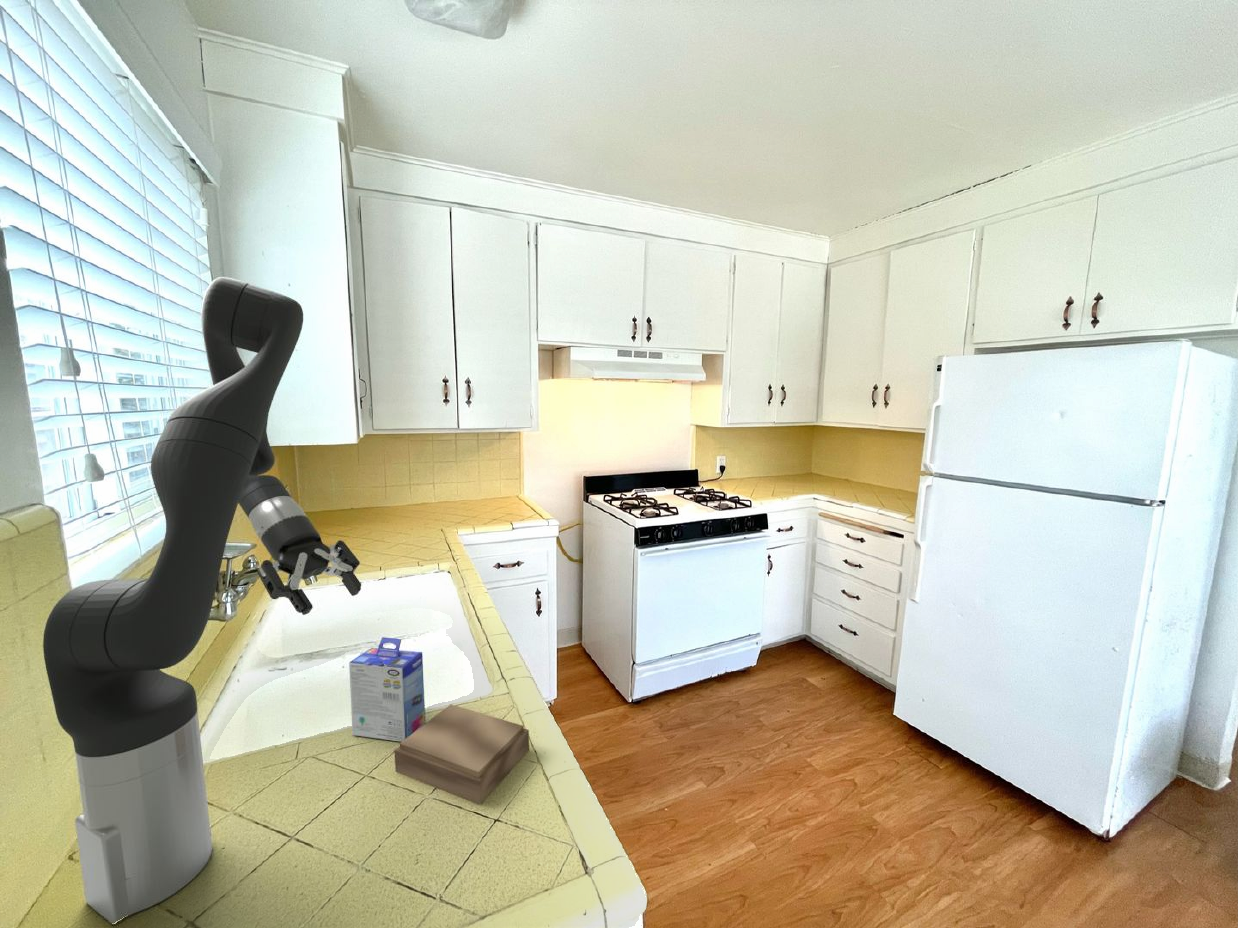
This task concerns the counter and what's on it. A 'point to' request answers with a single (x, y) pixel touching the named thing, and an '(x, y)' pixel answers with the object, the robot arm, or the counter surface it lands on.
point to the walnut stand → (462, 752)
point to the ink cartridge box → (387, 692)
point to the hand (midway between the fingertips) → (334, 601)
